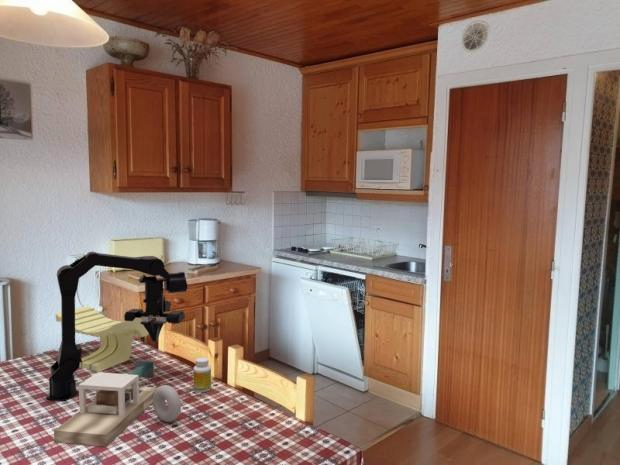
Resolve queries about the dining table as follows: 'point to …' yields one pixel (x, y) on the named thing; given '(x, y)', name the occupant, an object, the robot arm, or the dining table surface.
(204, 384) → the supplement bottle
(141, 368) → the carriage
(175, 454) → the dining table surface
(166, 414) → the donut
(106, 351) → the slatted curved stool
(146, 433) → the dining table surface
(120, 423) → the deck
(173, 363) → the dining table surface
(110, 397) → the block
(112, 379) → the tunnel
